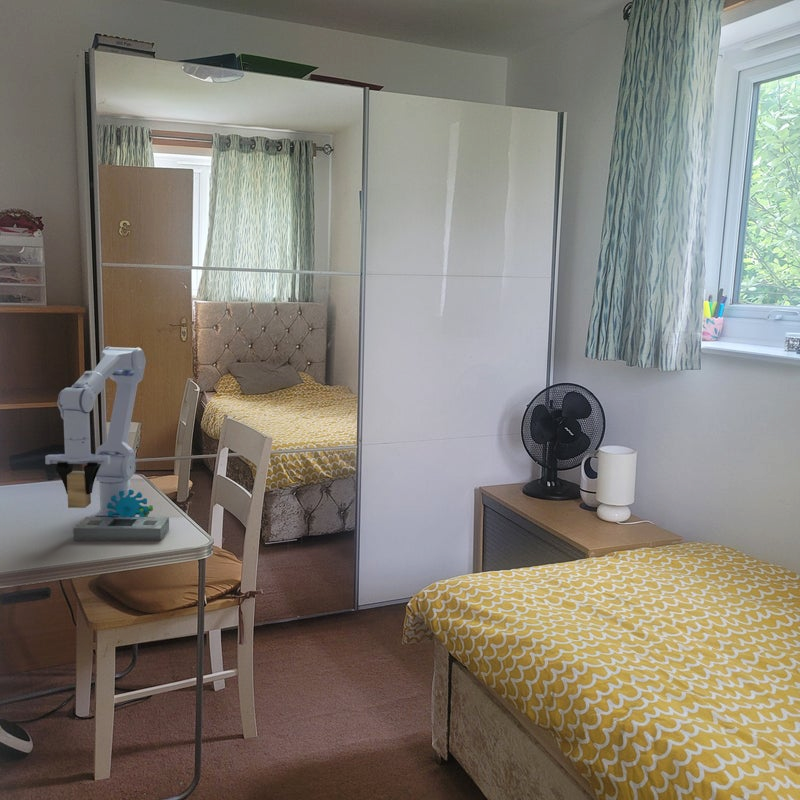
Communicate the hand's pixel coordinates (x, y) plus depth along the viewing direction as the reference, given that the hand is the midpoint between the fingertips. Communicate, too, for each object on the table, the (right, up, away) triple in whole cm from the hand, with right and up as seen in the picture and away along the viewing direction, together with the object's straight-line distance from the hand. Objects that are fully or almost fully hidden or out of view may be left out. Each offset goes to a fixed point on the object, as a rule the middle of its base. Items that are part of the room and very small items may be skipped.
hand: (79, 493), depth 184 cm
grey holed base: (+10, -10, +1) cm, 14 cm away
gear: (+8, -9, +11) cm, 17 cm away
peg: (0, -3, 0) cm, 3 cm away
